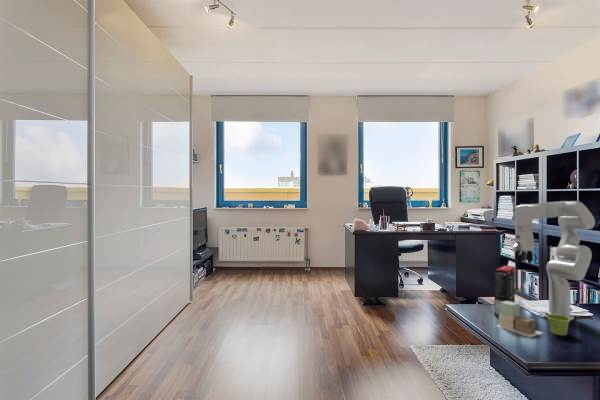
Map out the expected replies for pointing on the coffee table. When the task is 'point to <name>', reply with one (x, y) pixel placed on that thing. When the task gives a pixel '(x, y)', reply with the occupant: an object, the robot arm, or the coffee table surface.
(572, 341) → the coffee table surface
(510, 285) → the graphics card box
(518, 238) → the robot arm
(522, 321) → the walnut cube
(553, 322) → the plant pot
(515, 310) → the sage block
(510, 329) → the board
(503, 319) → the maple base
